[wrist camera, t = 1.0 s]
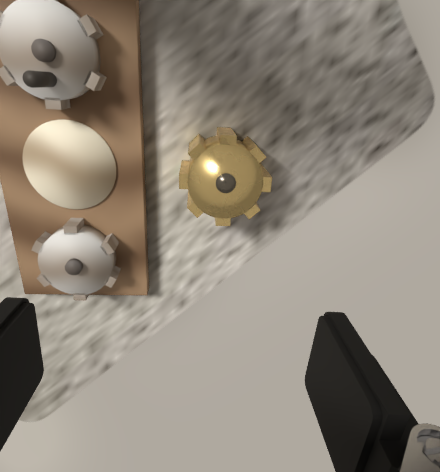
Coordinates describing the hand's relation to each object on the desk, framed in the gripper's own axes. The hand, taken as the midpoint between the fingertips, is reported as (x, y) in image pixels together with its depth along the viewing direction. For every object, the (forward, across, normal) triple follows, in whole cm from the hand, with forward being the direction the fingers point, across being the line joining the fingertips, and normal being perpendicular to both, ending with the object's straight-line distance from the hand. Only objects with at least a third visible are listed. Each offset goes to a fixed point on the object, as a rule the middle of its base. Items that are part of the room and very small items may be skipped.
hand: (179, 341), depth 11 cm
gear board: (+22, +11, -1) cm, 24 cm away
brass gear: (+22, -2, -2) cm, 22 cm away
